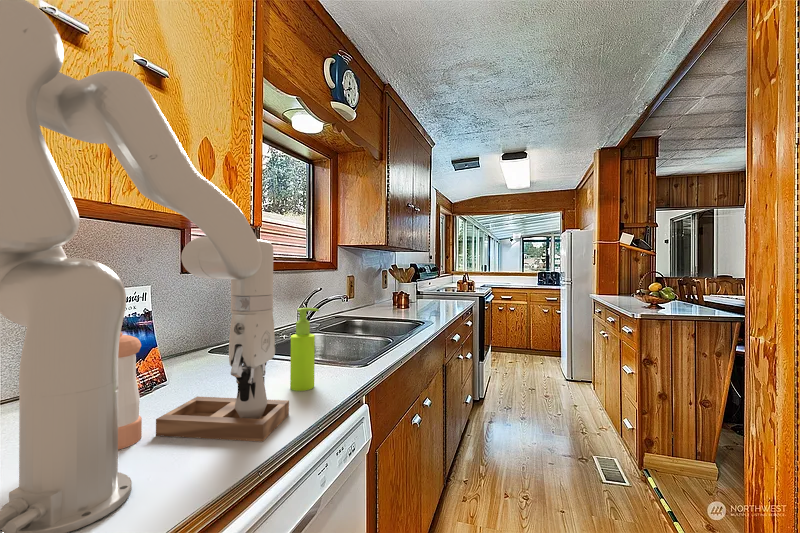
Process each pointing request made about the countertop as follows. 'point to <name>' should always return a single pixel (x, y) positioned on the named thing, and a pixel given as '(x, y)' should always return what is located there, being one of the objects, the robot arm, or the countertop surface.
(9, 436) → the countertop surface
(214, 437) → the caddy
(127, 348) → the pepper shaker
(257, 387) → the salt shaker
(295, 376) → the soap dispenser
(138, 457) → the countertop surface
